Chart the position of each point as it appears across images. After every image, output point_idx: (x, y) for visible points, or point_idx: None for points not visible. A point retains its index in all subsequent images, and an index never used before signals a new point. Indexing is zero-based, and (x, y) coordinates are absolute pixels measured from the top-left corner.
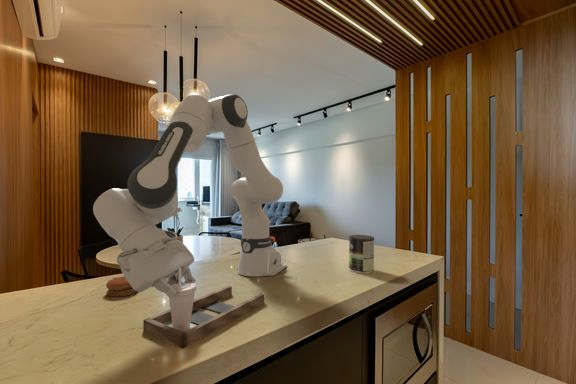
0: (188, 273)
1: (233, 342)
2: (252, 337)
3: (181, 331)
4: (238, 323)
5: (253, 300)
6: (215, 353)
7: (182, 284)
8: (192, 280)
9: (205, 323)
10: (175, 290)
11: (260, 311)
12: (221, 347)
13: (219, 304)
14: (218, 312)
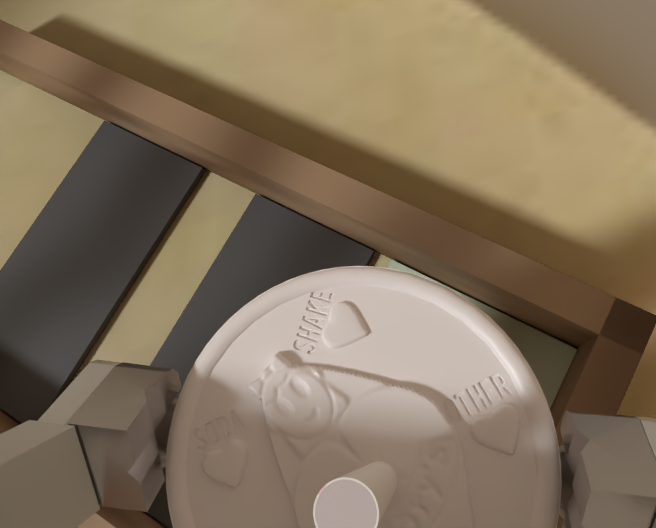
0: (11, 478)
1: (509, 77)
2: (444, 2)
3: (594, 355)
4: (286, 113)
5: (58, 47)
6: (638, 130)
7: (248, 492)
8: (153, 375)
9: (445, 233)
10: (638, 434)
11: (129, 36)
12: (572, 120)
13: (8, 309)
14: (134, 277)
